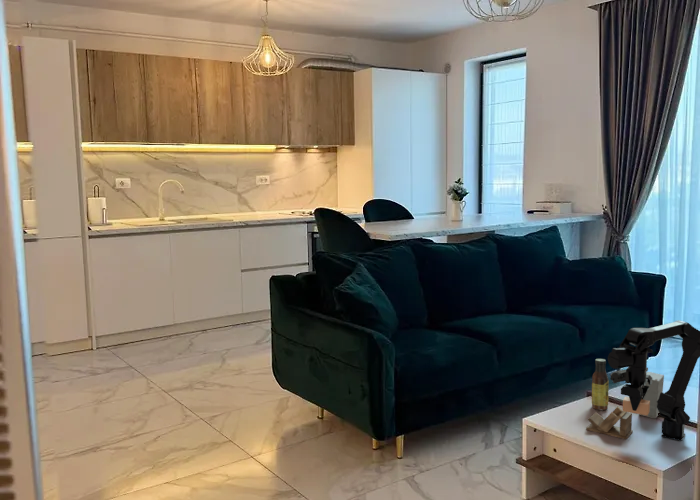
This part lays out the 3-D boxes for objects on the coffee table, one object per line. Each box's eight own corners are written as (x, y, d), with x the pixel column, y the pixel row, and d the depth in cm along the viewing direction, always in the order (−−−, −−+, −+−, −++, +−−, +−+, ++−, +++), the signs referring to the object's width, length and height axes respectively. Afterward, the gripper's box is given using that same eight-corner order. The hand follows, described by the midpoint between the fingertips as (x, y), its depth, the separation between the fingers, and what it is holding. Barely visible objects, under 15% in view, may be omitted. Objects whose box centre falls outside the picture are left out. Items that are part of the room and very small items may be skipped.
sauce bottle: (609, 411, 253) (610, 362, 250) (592, 410, 254) (594, 362, 252) (606, 405, 259) (607, 358, 257) (590, 404, 260) (591, 357, 258)
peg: (649, 411, 222) (649, 400, 221) (647, 415, 219) (647, 404, 218) (624, 407, 226) (625, 396, 226) (622, 411, 223) (623, 400, 222)
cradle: (632, 432, 232) (633, 409, 231) (626, 439, 227) (627, 416, 226) (593, 423, 241) (593, 401, 240) (586, 429, 236) (586, 407, 235)
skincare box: (644, 408, 255) (645, 370, 253) (663, 412, 250) (665, 374, 248) (637, 415, 248) (639, 376, 246) (657, 419, 244) (659, 379, 242)
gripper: (620, 355, 233) (619, 396, 235) (605, 368, 218) (604, 411, 220) (653, 360, 226) (651, 402, 228) (640, 373, 211) (638, 418, 213)
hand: (636, 408), depth 222 cm, fingers closed on peg, 4 cm apart
